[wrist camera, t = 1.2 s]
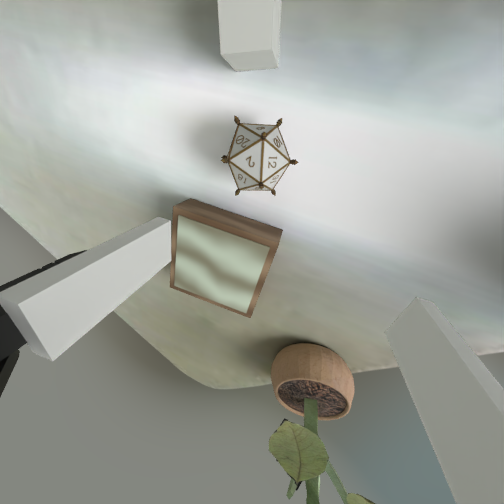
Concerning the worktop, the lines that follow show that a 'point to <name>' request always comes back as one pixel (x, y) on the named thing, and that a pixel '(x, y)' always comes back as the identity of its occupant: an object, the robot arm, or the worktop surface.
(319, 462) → the potted plant
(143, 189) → the worktop surface
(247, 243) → the walnut framed mirror
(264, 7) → the grey block
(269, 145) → the game die
